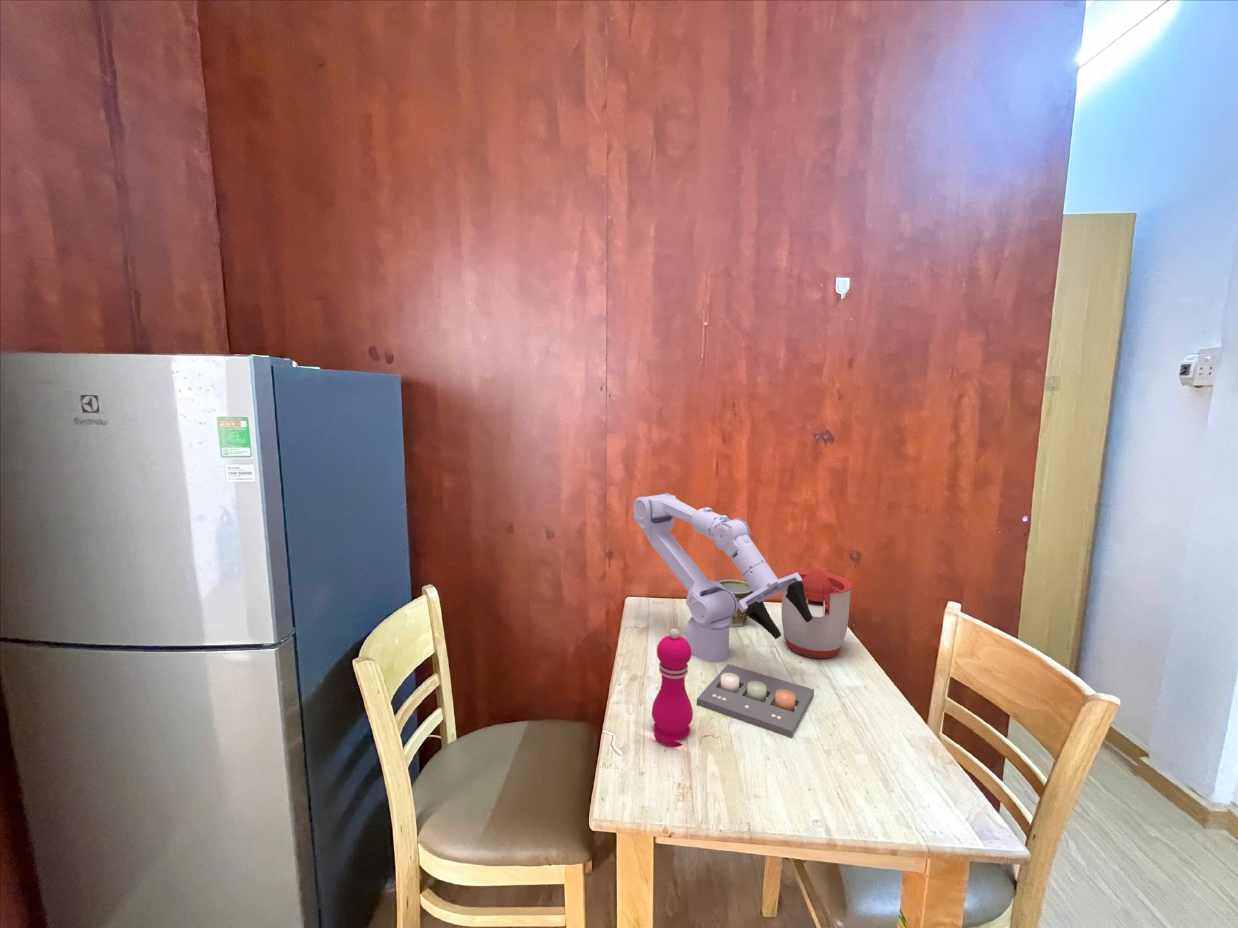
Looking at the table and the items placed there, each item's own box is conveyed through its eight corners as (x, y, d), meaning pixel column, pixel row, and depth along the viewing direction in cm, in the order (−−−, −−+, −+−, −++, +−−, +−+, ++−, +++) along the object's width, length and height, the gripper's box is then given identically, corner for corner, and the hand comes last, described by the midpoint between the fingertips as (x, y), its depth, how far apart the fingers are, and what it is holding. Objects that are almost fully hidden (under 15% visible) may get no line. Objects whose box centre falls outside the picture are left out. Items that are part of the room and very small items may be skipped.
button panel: (696, 710, 104) (696, 697, 104) (727, 674, 117) (728, 662, 117) (791, 744, 94) (792, 729, 94) (813, 701, 108) (814, 688, 107)
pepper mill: (695, 728, 99) (699, 623, 96) (687, 752, 92) (691, 641, 89) (657, 719, 101) (659, 617, 98) (646, 743, 94) (648, 634, 91)
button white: (717, 692, 108) (718, 678, 108) (724, 684, 111) (724, 670, 111) (734, 698, 106) (735, 683, 106) (741, 689, 109) (741, 675, 109)
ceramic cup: (707, 623, 143) (708, 587, 142) (722, 611, 151) (724, 576, 150) (754, 636, 136) (756, 598, 134) (768, 623, 144) (770, 587, 143)
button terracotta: (772, 710, 102) (773, 695, 102) (777, 701, 105) (778, 687, 105) (791, 716, 100) (792, 701, 100) (796, 707, 103) (797, 692, 103)
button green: (744, 701, 105) (744, 686, 105) (750, 692, 108) (751, 678, 108) (762, 707, 103) (763, 692, 103) (768, 698, 106) (768, 684, 106)
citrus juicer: (775, 660, 124) (780, 576, 121) (780, 629, 140) (784, 554, 138) (849, 673, 119) (855, 585, 116) (845, 639, 135) (851, 562, 132)
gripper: (729, 576, 107) (769, 638, 100) (789, 547, 111) (831, 605, 104) (722, 589, 113) (759, 649, 106) (779, 562, 117) (818, 618, 110)
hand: (794, 628), depth 106 cm, fingers open, 7 cm apart
